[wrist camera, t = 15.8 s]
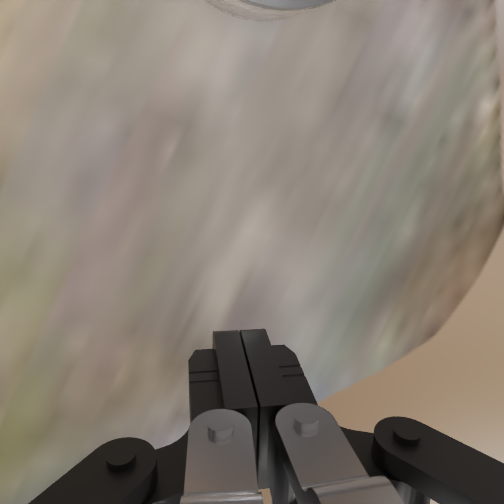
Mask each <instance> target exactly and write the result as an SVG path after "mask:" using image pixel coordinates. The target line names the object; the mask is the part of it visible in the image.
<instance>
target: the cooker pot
mask: <svg viewBox="0 0 504 504" xmlns="http://www.w3.org/2000/svg"><path fill="white" fill-rule="evenodd" d="M205 1H207V2H208V3H209V4H211V5H212V6H214V7H216V8H217V9H219V10H221V11H223V12H225V13H228V14H230V15H233V16H236V17H239V18H243V19H248V20H256V21H272V20H278V19H283V18H287V17H290V16H293V15H296V14H298V13H300V12H302V11H304V10H299V11H278V10H270V9H263V8H260V7H256V6H253V5H249V4H246V3H244V2H241V1H239V0H205ZM305 10H306V9H305Z"/></svg>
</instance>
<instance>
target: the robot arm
mask: <svg viewBox="0 0 504 504" xmlns="http://www.w3.org/2000/svg"><path fill="white" fill-rule="evenodd" d="M188 363H189V406H190V426H189V429H188V431H187V432H186V433H185V435H184V436H182V437H181V438H180V439H179V440H177V441H176V442H174V443H172V444H170V445H168V446H165V447H162V448H159V449H156V450H155V449H154V448H153V446H152V445H151V444H150V443H148V442H147V441H145V440H142V439H139V438H131V437H127V438H119V439H115V440H112V441H109V442H107V443H105V444H103V445H101V446H100V447H98V448H97V449H96V450H94V451H93V452H92V453H91V454H89V455H88V456H87V457H86V458H84V459H83V460H82V461H81V462H79V463H78V464H77V465H76V466H74V467H73V468H72V469H71V470H70V471H68V472H67V473H66V474H65V475H63V476H62V477H61V478H60V479H58V480H57V481H56V482H55V483H53V484H52V485H51V486H50V487H48V488H47V489H46V490H45V491H43V492H42V493H41V494H40V495H38V496H37V497H36V498H35V499H34V500H32V501H31V502H30V503H29V504H263V497H262V493H261V492H258V489H265V488H270V492H271V497H272V501H271V504H430V498H431V499H432V500H434V501H436V502H437V503H439V504H504V463H502V462H500V461H498V460H496V459H494V458H492V457H489V456H488V455H486V454H483V453H481V452H479V451H477V450H475V449H473V448H471V447H469V446H467V445H465V444H463V443H461V442H459V441H457V440H455V439H453V438H451V437H449V436H447V435H445V434H443V433H441V432H439V431H437V430H435V429H433V428H431V427H429V426H427V425H425V424H423V423H421V422H419V421H416V420H413V419H410V418H406V417H388V418H385V419H383V420H381V421H379V422H378V423H377V424H376V426H375V428H374V433H368V432H362V431H355V430H350V429H346V428H343V427H340V426H339V425H338V423H337V421H336V420H335V418H334V417H333V415H332V414H331V413H330V412H329V411H327V410H326V409H324V408H322V407H320V406H318V404H317V402H316V400H315V397H314V395H313V393H312V391H311V388H310V386H309V384H308V382H307V379H306V377H305V376H304V372H303V370H302V368H301V367H300V363H299V361H298V359H297V357H296V354H295V353H294V352H292V351H291V350H290V349H289V348H287V347H286V346H285V345H272V346H271V343H270V341H269V338H268V335H267V332H266V330H265V329H252V330H240V331H238V330H234V331H214V332H213V349H202V350H195V351H194V353H193V354H192V356H191V357H190V359H189V360H188Z"/></svg>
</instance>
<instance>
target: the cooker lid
mask: <svg viewBox="0 0 504 504" xmlns="http://www.w3.org/2000/svg"><path fill="white" fill-rule="evenodd" d="M239 1H241V2H244V3H246V4H249V5H253V6H256V7H260V8H263V9H270V10H278V11H299V10H305V9H310V8H316V7H319V6H322V5H325V4H328V3H331V2H333V1H335V0H239Z"/></svg>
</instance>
